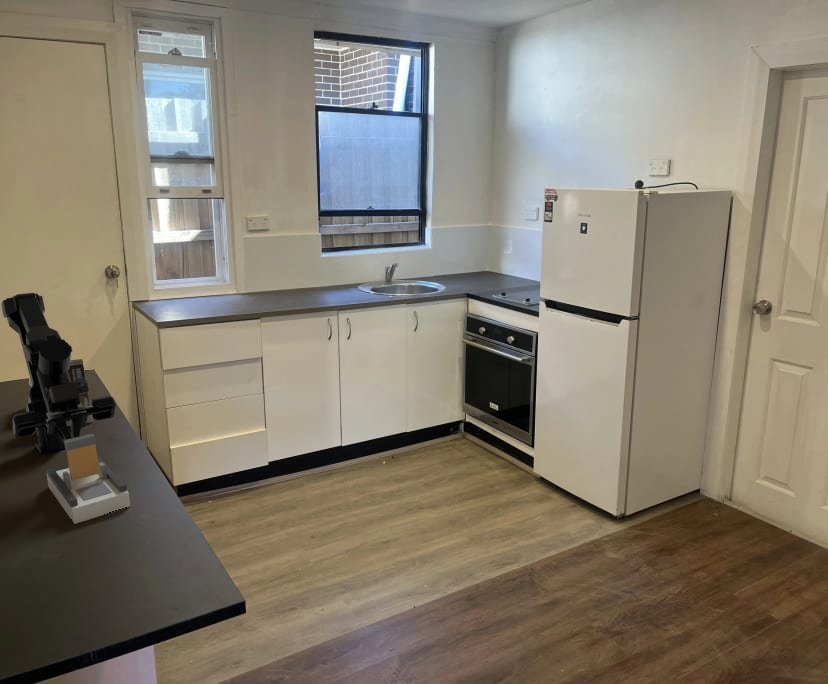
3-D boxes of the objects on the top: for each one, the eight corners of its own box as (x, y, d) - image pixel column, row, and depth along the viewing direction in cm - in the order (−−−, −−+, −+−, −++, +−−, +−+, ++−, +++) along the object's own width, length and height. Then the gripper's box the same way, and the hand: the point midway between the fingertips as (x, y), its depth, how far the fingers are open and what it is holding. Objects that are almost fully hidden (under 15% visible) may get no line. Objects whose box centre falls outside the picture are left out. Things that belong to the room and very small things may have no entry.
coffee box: (91, 415, 178) (83, 358, 174) (92, 422, 173) (84, 363, 169) (53, 421, 174) (44, 362, 170) (53, 429, 168) (43, 368, 165)
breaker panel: (48, 487, 136) (44, 460, 135) (99, 473, 143) (96, 447, 141) (74, 523, 122) (70, 494, 120) (130, 506, 128) (126, 477, 126)
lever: (69, 478, 130) (64, 440, 128) (97, 470, 133) (92, 433, 131) (72, 481, 129) (66, 442, 127) (100, 473, 132) (95, 436, 130)
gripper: (5, 375, 128) (24, 445, 122) (107, 358, 139) (129, 422, 133) (6, 404, 136) (23, 471, 130) (102, 385, 147) (122, 446, 141)
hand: (76, 451), depth 133 cm, fingers closed
